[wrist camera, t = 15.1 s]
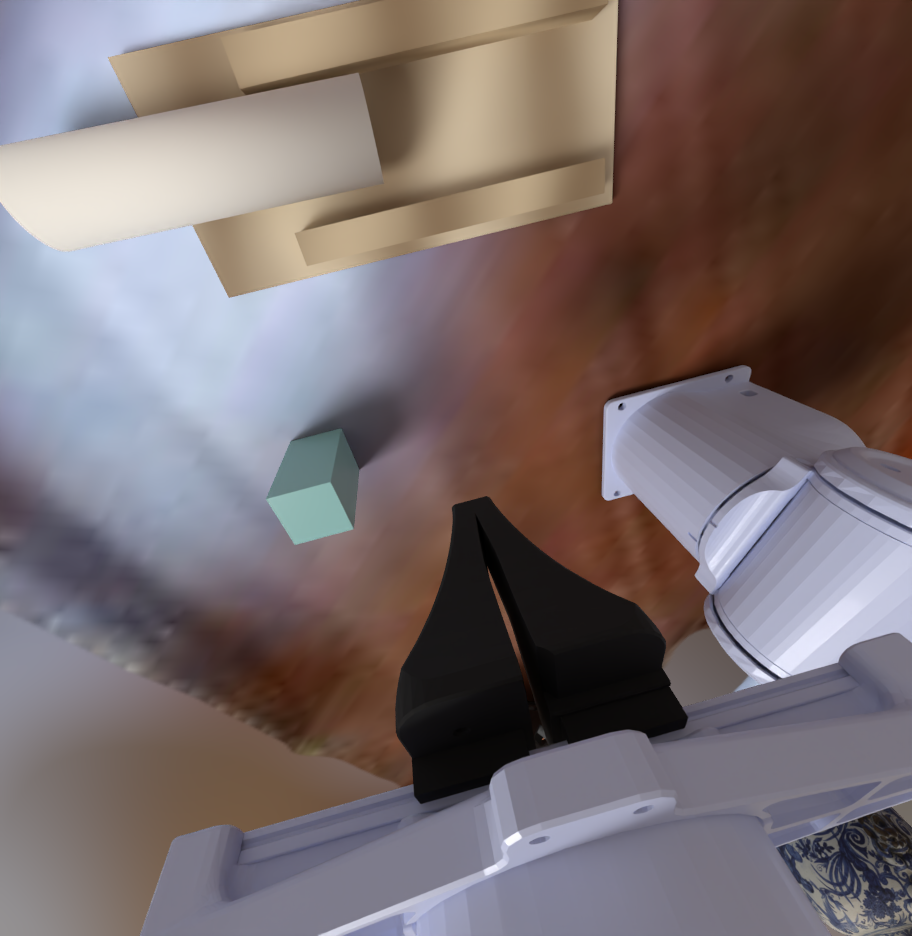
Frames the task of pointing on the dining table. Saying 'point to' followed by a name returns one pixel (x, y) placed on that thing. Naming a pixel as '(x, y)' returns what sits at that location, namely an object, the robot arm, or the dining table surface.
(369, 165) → the cream cylinder rod
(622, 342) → the dining table surface
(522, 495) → the dining table surface
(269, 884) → the robot arm
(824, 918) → the decorative vase
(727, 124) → the dining table surface
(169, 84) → the channel board
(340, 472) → the tall teal pillar
